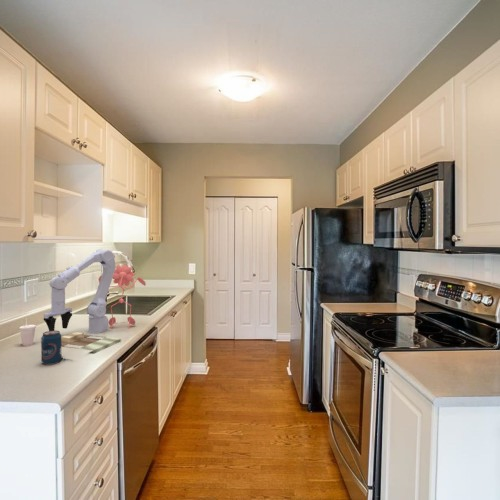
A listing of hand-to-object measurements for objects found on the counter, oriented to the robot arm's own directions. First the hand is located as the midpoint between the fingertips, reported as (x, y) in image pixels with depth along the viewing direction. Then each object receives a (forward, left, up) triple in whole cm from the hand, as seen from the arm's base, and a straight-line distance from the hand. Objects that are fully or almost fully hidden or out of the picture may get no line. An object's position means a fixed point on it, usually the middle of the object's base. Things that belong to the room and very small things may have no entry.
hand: (58, 330), depth 161 cm
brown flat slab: (0, +16, -6) cm, 17 cm away
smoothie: (+11, -6, -6) cm, 14 cm away
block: (0, +8, -4) cm, 9 cm away
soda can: (+22, +19, -6) cm, 30 cm away
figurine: (-35, +10, -6) cm, 37 cm away
